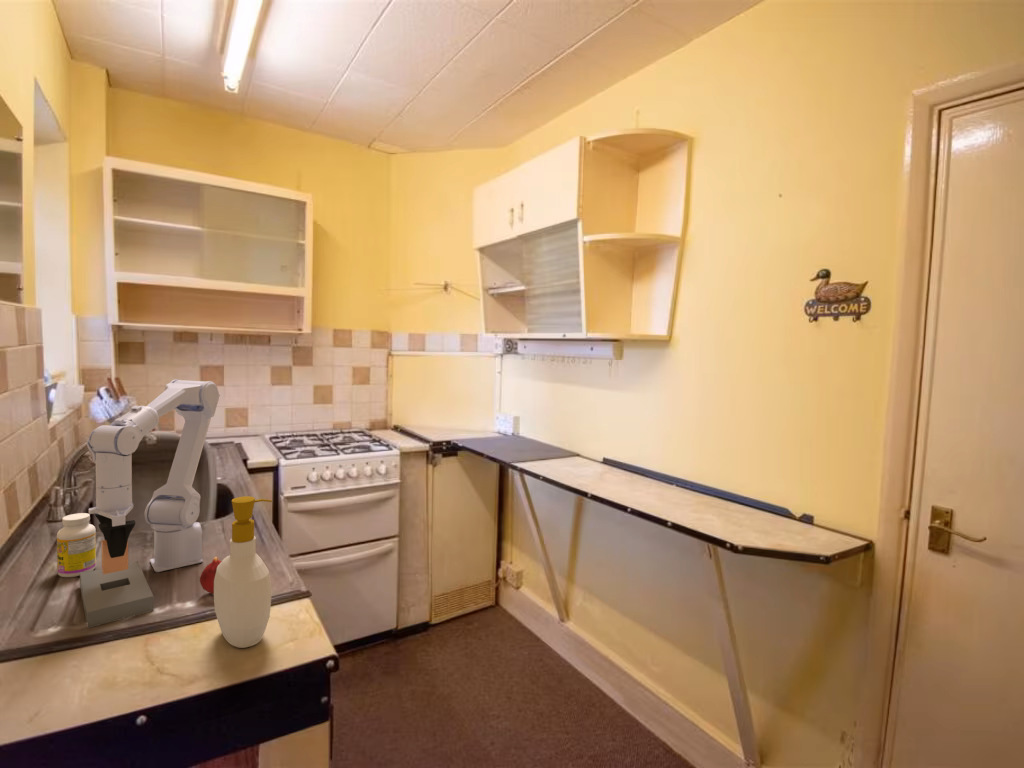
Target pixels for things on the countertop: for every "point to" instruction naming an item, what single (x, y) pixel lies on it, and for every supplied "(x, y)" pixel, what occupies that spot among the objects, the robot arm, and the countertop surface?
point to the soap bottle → (242, 582)
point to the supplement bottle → (76, 546)
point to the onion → (209, 575)
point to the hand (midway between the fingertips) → (114, 550)
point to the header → (115, 594)
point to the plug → (113, 560)
